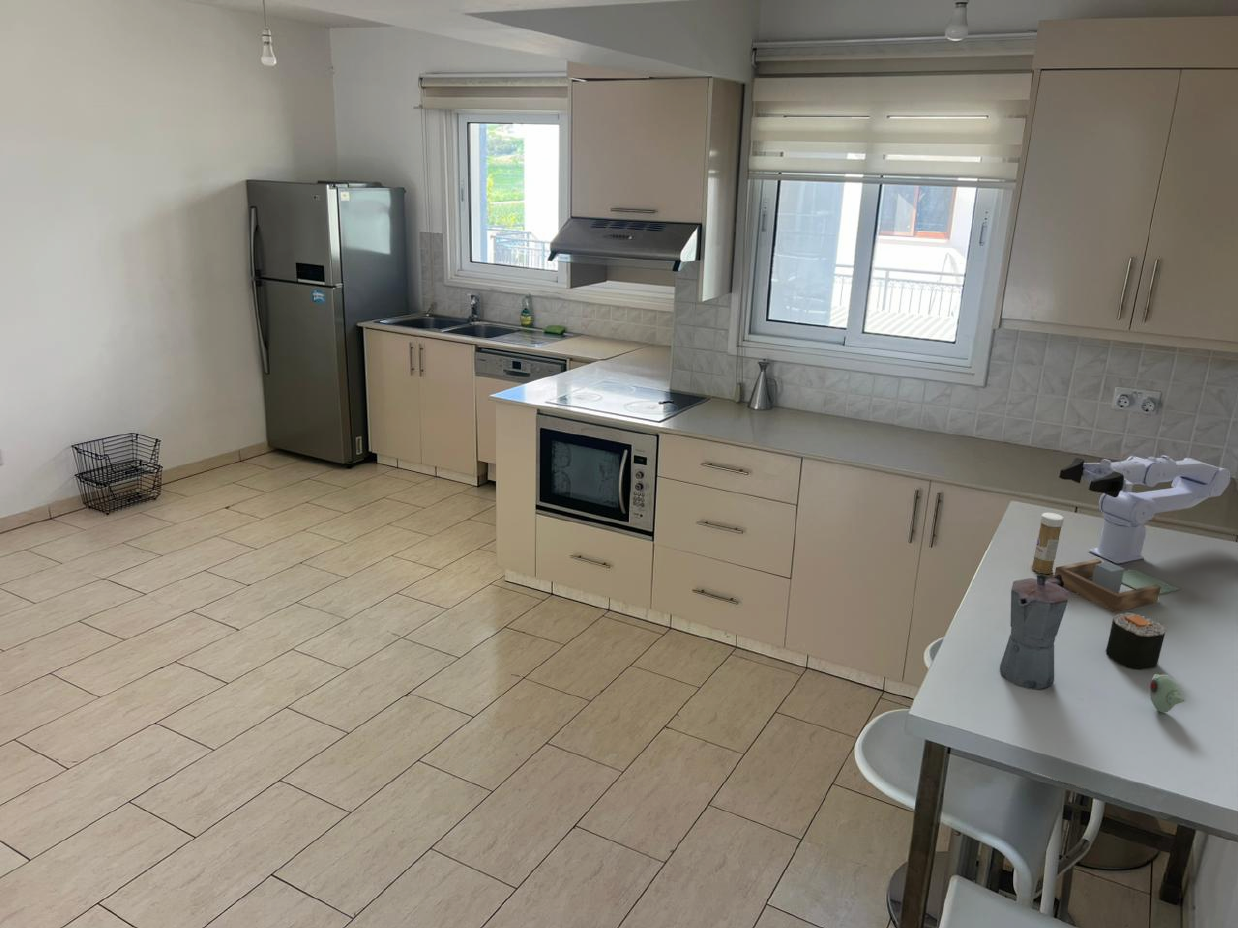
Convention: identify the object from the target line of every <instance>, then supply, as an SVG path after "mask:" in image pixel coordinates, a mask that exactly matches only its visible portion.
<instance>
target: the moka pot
mask: <svg viewBox="0 0 1238 928" xmlns="http://www.w3.org/2000/svg"><path fill="white" fill-rule="evenodd" d="M1063 586H1064V582H1063V581H1062V577H1061V575H1060V574H1058V575H1057V576H1056V577H1055V578H1054V577H1050V578H1047V576H1046V575H1045V574H1038V575H1036V578H1034V577H1029V578H1024V579H1016V580H1014V581H1013V582H1012V586H1011V589H1010V592H1011V593H1010V628H1011V629H1010V634H1009V637H1008V640H1007V643H1006V646H1005V650H1004V652H1003V655H1002V658H1001V662H1000V665H999V672H1000V675H1001V677H1003V678H1004V679H1005V680H1006V681H1008V682H1009V683H1011V684H1013V685H1015V686H1019V687H1021V688H1025V689H1031V690H1032V689H1033V690H1040V689H1043V690H1044V689H1046V688H1049V687H1050V686H1051V685H1052V684H1053V683H1054V682H1055V641H1056V637H1057V635H1058V634H1059V633H1058V632H1059V630H1060V627H1061V623H1062V620H1063V617H1064V614H1065V611H1066V609H1067V605H1068V602H1069V593H1070V591H1069V590H1068V589H1067V588H1065V587H1063Z"/></svg>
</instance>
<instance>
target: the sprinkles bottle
mask: <svg viewBox="0 0 1238 928" xmlns="http://www.w3.org/2000/svg"><path fill="white" fill-rule="evenodd" d="M1064 520H1065V519H1064V517H1063V516H1062V515H1060V514H1058V513H1055V512H1043V513H1042V514H1041V516H1040V527H1039V532H1038V536H1037V540H1036V544H1035V549H1034V556H1033V560H1032V565H1031V570H1033V571H1034V572H1035V573H1038V574H1041V575H1049V574H1050V575H1051V574H1053V571H1054V569H1053V568H1054V564H1055V560H1056V557H1057V551H1058V547H1059V542H1060V536H1061V531H1062V527H1063V525H1064Z"/></svg>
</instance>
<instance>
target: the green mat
mask: <svg viewBox="0 0 1238 928" xmlns="http://www.w3.org/2000/svg"><path fill="white" fill-rule="evenodd" d="M1122 584H1123V585H1124V586H1126V587H1129V588H1131V589H1132V590H1134V589H1139V588H1143V587H1147V586H1151V585H1158V586H1160V587H1161V589H1160V593H1159V595H1164V594H1167V593H1172V592H1175V591H1179V588H1177V587H1175V586H1173V585H1170V584H1168V583H1166V582H1163V581H1161V580H1159V579H1156V578H1155V577H1152V576H1149V575H1147V574H1145V573H1143V572H1141V571H1138V570H1136V569H1134V568H1132V569H1128V570H1124V574H1123V578H1122V583H1121V585H1122Z"/></svg>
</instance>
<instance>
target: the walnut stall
mask: <svg viewBox="0 0 1238 928" xmlns="http://www.w3.org/2000/svg"><path fill="white" fill-rule="evenodd" d="M1102 561H1103V560H1101V559H1098V558H1095V559H1090V560H1086V561H1080V562H1075V563H1072V564H1066V565H1065V564H1064V565H1062V566H1061V565H1060V566H1056V567H1055V571H1054V575H1053V578H1055V577H1056V576H1057V575H1058V574H1060V575H1061V577H1062V581H1063V582H1064V586H1063V588H1064V589H1066V590H1068V591H1071V590H1072V591H1071V592H1073V591H1074V592H1073V593H1075V592H1076V593H1075V594H1077V593H1078V595H1079V596H1082V597H1083V598H1084V599H1085V598H1086V599H1087V600H1089V601H1092V602H1093V603H1096V604H1097V605H1100V606H1101V607H1104V608H1106V609H1108V610H1110V611H1112V612H1114V613H1116V612H1118V613H1119V612H1121V611H1125V610H1129V609H1134V608H1138V607H1142V606H1145V605H1146V606H1147V605H1150V604H1154V603H1157V602H1158V600H1159V593H1160V589H1161V587H1160V586H1158V585H1151V586H1147V587H1143V588H1139V589H1131V590H1127V591H1126V590H1125V591H1121V592H1119V593H1115V592H1113V591H1111V590H1109V589H1107V588H1105V587H1103V586H1100V585H1098V584H1096V583H1094V582H1092V580H1090V579H1088V578H1091V577H1092V578H1093V574H1094V569H1095V564H1099V563H1103V562H1102Z"/></svg>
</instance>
